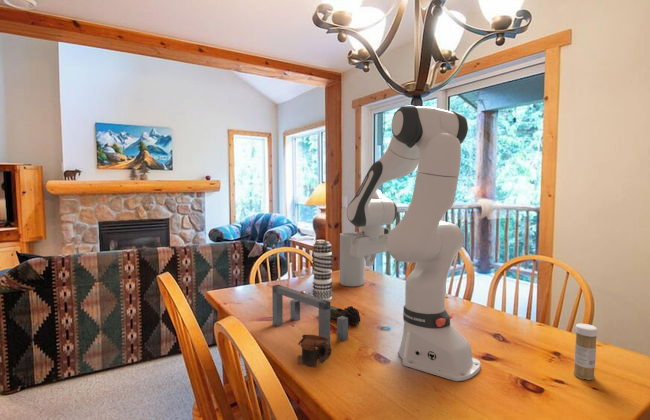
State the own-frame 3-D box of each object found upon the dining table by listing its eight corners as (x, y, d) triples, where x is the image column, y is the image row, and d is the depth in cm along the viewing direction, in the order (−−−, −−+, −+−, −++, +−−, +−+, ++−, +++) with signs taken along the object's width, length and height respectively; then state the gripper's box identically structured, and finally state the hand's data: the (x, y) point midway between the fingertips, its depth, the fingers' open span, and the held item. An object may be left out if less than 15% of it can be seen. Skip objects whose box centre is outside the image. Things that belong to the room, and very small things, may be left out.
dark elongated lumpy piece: (318, 316, 140) (318, 302, 139) (330, 312, 145) (330, 298, 144) (354, 329, 127) (354, 313, 127) (366, 324, 132) (366, 308, 132)
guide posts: (347, 339, 119) (348, 317, 118) (342, 341, 117) (342, 319, 116) (295, 317, 138) (295, 299, 137) (290, 319, 136) (290, 300, 136)
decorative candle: (325, 302, 156) (326, 243, 154) (307, 298, 160) (307, 241, 159) (336, 296, 163) (337, 240, 162) (319, 293, 168) (319, 239, 167)
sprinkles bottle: (585, 371, 98) (588, 322, 98) (599, 381, 94) (602, 329, 93) (569, 372, 98) (571, 322, 97) (581, 381, 94) (584, 329, 93)
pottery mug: (288, 363, 104) (293, 333, 107) (311, 368, 109) (315, 339, 113) (318, 366, 96) (323, 333, 99) (342, 371, 101) (345, 340, 105)
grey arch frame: (331, 346, 114) (331, 299, 113) (324, 349, 111) (324, 301, 110) (279, 322, 133) (279, 282, 132) (272, 324, 131) (272, 284, 130)
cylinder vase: (362, 280, 192) (362, 232, 190) (366, 286, 180) (367, 235, 178) (338, 280, 191) (338, 232, 190) (341, 287, 179) (341, 236, 177)
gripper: (358, 233, 135) (358, 271, 136) (392, 229, 149) (391, 263, 150) (346, 232, 140) (345, 268, 141) (379, 227, 154) (379, 260, 155)
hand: (369, 265), depth 146 cm, fingers closed
